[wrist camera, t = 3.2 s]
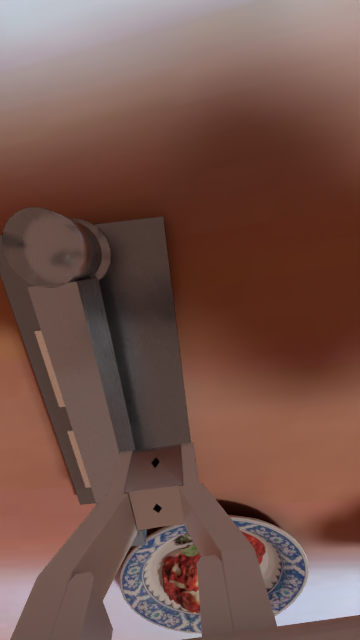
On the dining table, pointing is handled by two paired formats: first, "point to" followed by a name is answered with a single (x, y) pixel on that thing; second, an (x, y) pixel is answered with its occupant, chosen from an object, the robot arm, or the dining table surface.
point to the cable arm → (74, 334)
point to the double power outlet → (119, 339)
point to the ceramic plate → (182, 579)
